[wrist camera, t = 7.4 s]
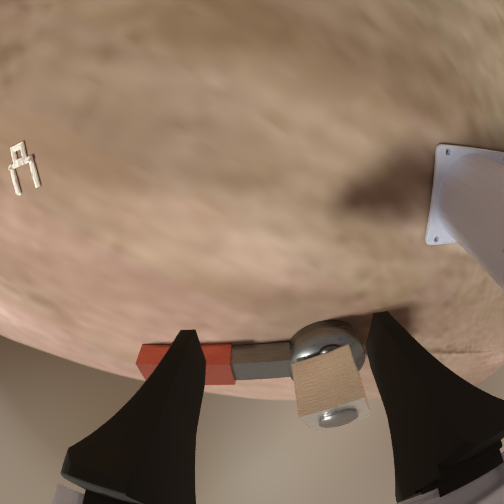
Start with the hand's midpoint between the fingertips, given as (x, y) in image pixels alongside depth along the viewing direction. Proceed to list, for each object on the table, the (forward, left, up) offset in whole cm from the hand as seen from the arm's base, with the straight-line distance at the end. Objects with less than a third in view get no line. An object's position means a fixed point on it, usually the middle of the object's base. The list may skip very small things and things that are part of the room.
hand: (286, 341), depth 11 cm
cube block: (-4, +12, -7) cm, 15 cm away
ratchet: (+3, +12, -10) cm, 16 cm away
